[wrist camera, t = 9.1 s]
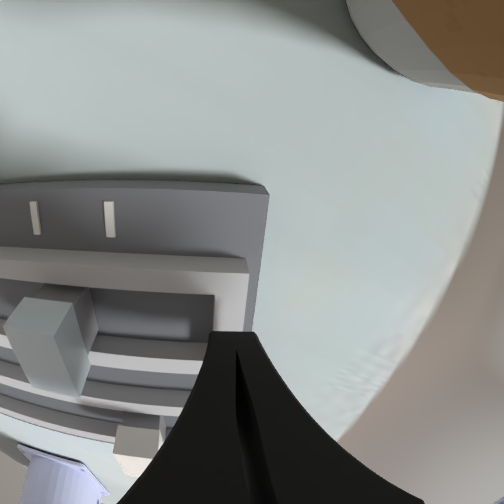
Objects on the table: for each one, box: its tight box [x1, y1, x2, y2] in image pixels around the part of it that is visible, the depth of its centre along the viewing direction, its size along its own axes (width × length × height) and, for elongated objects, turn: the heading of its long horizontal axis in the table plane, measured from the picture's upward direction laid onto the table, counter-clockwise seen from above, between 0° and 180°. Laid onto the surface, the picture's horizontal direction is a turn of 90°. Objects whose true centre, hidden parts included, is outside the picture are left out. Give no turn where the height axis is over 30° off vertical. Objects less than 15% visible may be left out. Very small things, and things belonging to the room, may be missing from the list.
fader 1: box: [3, 283, 99, 398], centre depth 9 cm, size 3×2×3 cm
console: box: [0, 180, 269, 444], centre depth 11 cm, size 16×22×2 cm
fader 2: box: [113, 411, 166, 477], centre depth 12 cm, size 3×2×3 cm
